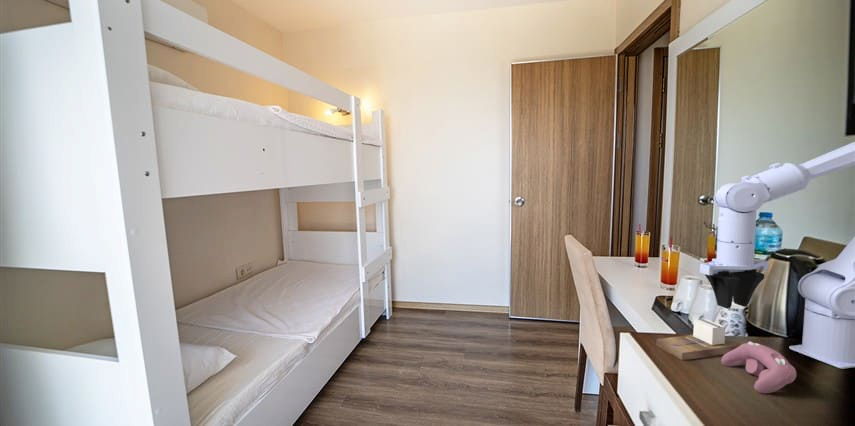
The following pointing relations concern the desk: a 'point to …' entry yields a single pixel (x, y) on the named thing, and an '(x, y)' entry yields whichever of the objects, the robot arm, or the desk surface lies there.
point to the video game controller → (755, 359)
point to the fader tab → (709, 331)
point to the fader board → (693, 347)
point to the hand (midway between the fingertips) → (732, 306)
